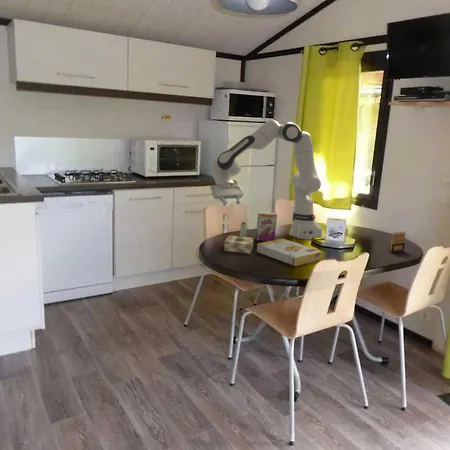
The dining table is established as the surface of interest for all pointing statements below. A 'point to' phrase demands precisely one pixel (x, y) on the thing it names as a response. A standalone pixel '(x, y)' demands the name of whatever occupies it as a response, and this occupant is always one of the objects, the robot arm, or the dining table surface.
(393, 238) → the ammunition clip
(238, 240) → the block with square hole
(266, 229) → the candy bar box
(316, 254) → the cereal box
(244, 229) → the bottle
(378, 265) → the dining table surface
